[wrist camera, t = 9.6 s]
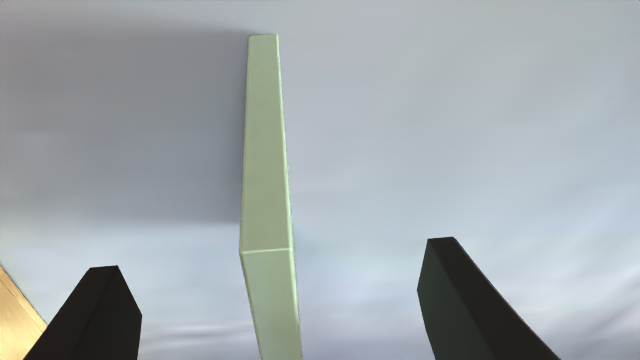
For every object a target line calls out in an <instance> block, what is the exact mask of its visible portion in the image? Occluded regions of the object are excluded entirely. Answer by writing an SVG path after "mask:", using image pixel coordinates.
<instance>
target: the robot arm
mask: <svg viewBox="0 0 640 360" xmlns="http://www.w3.org/2000/svg"><path fill="white" fill-rule="evenodd" d="M417 292H418V297H419V302H420V306H421V311H422V316H423V320H424V324H425V328H426V332H427V335H428V338H429V341H430V344H431V347H432V350H433V353H434V356H435V359H436V360H561V359H560V358H559V357H558V356H557V355H556V354H555V353H554V352H553V351H552V350H551V349H550V348H549V347H548V346H547V345H546V344H545V343H544V342H543V341H542V340H541V339H540V338H539V337H538V336H537V335H536V333H535V332H534V331H533V330H532V329H531V328H530V327H529V326H528V325H527V324H526V323H525V322H524V321H523V319H522V318H521V317H520V316H519V315H518V314H517V313H516V311H515V310H514V309H513V308H512V307H511V306H510V305H509V304H508V302H507V301H506V300H505V299H504V298H503V297H502V296H501V294H500V293H499V292H498V291H497V290H496V289H495V287H494V286H493V285H492V284H491V282H490V281H489V280H488V279H487V278H486V276H485V275H484V274H483V273H482V272H481V270H480V269H479V268H478V267H477V265H476V264H475V263H474V262H473V260H472V259H471V258H470V256H469V255H468V254H467V253H466V251H465V250H464V249H463V247H462V246H461V245H460V244H459V242H458V241H457V240H456V239H455V238H454V237H444V238H432V239H428V241H427V245H426V250H425V255H424V259H423V264H422V269H421V273H420V278H419V283H418V287H417ZM141 322H142V314H141V312H140V310H139V308H138V306H137V304H136V302H135V300H134V298H133V296H132V294H131V292H130V290H129V288H128V286H127V283H126V281H125V279H124V277H123V275H122V273H121V271H120V269H119V267H118V265H116V266H104V267H93V268H89V270H88V271H87V272H86V273H85V275H84V276H83V277H82V279H81V280H80V282H79V283H78V284H77V286H76V287H75V289H74V290H73V292H72V293H71V294H70V296H69V297H68V299H67V300H66V301H65V303H64V304H63V306H62V307H61V308H60V310H59V311H58V313H57V314H56V315H55V317H54V318H53V320H52V321H51V322H50V324H49V325H48V326H47V328H46V329H45V331H44V332H43V333H42V335H41V336H40V337H39V339H38V340H37V341H36V342H35V344H34V345H33V346H32V348H31V349H30V350H29V352H28V353H27V354H26V356H25V357H24V358H23V360H137V357H138V349H139V341H140V332H141Z"/></svg>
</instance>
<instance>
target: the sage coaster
mask: <svg viewBox="0 0 640 360" xmlns="http://www.w3.org/2000/svg"><path fill="white" fill-rule="evenodd" d="M239 255H240V260H241V265H242V270H243V275H244V280H245V284H246V289H247V294H248V299H249V304H250V309H251V313H252V318H253V323H254V328H255V333H256V338H257V342H258V347H259V352H260V357H261V360H303V355H302V341H301V328H300V314H299V300H298V287H297V273H296V259H295V246H294V232H293V219H292V206H291V193H290V181H289V168H288V155H287V143H286V130H285V117H284V104H283V92H282V79H281V66H280V54H279V41H278V35H277V34H267V35H251V36H249V37H248V55H247V78H246V102H245V125H244V149H243V172H242V195H241V219H240V242H239Z"/></svg>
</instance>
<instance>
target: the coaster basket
mask: <svg viewBox="0 0 640 360" xmlns="http://www.w3.org/2000/svg"><path fill="white" fill-rule="evenodd" d="M46 328H47V326H46V324H45V323H44V322H43V320H42V319H41V318H40V317H39V315H38V314H37V313H36V311H35V310H34V309H33V307H32V306H31V305H30V304H29V302H28V301H27V300H26V298H25V297H24V296H23V295H22V293H21V292H20V291H19V289H18V288H17V287H16V286H15V284H14V283H13V282H12V280H11V279H10V278H9V276H8V275H7V274H6V273H5V271H4V270H3V269H2V267H1V266H0V360H23V358H24V357H25V356H26V354H27V353H28V352H29V350H30V349H31V348H32V346H33V345H34V344H35V342H36V341H37V340H38V339H39V337H40V336H41V335H42V333H43V332H44V331H45V329H46Z"/></svg>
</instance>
